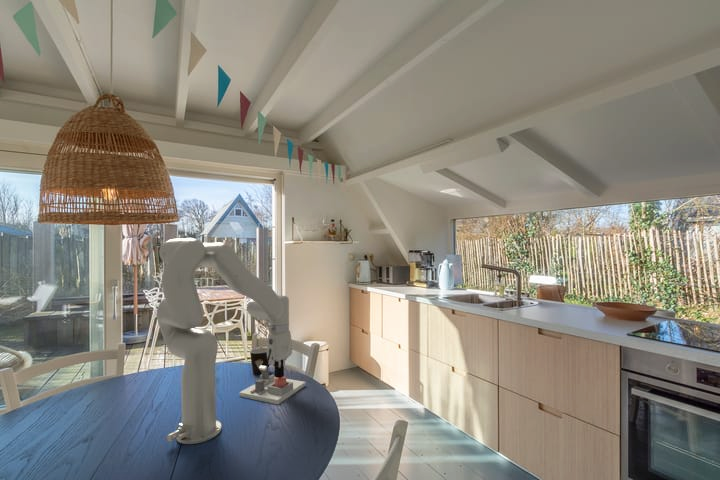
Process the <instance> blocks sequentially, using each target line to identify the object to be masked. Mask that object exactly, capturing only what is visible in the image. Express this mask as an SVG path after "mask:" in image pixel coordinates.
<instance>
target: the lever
mask: <svg viewBox="0 0 720 480" xmlns="http://www.w3.org/2000/svg"><path fill="white" fill-rule="evenodd" d="M259 370H260V371H261V373H262V376H263V378H264V379H267V380H268V377H269V376H271V375H270V373H269V369H268V370H267V366H263V365H260V367H259Z"/></svg>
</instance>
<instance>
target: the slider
mask: <svg viewBox="0 0 720 480" xmlns="http://www.w3.org/2000/svg"><path fill="white" fill-rule="evenodd" d="M254 384H255V392H261V391H263V390H265V384H264V380H262V379H260V378H259V379H257V380H255V381H254Z"/></svg>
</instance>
